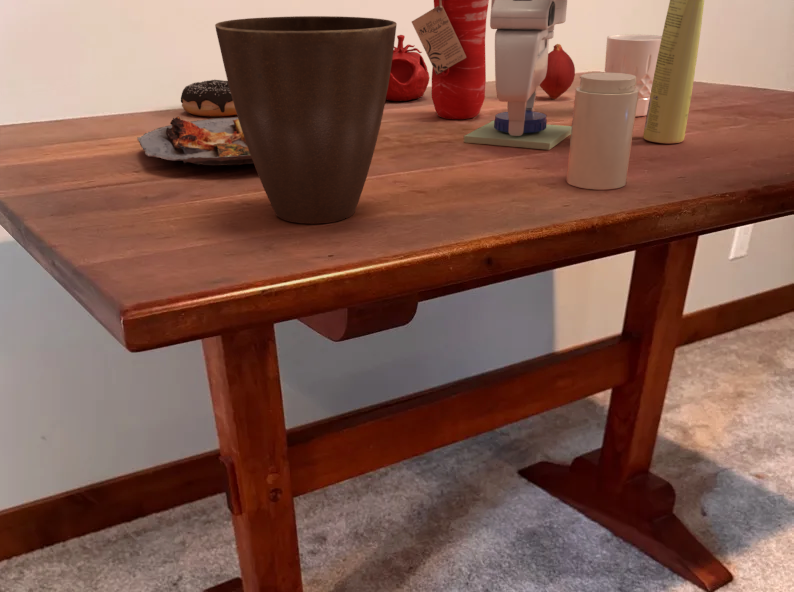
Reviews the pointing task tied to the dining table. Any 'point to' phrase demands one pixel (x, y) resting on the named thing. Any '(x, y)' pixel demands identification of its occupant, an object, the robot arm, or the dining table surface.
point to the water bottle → (456, 55)
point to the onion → (558, 73)
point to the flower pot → (309, 106)
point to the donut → (208, 99)
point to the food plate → (199, 142)
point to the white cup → (634, 62)
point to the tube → (674, 73)
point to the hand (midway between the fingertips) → (520, 128)
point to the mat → (519, 137)
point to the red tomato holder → (407, 74)
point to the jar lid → (532, 122)
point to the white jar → (602, 130)
